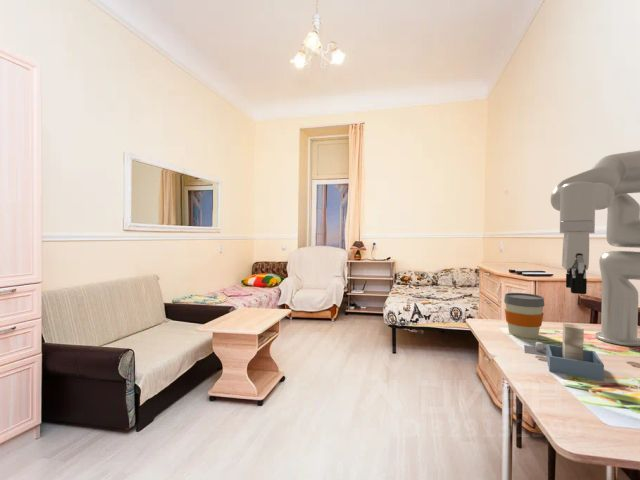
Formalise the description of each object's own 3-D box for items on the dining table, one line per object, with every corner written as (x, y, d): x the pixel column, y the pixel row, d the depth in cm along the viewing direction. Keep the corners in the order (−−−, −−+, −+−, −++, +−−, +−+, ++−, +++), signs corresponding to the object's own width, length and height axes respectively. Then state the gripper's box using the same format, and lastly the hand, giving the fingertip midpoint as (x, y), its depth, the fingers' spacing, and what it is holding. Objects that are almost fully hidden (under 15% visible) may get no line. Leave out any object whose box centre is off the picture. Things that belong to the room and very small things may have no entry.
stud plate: (524, 348, 110) (524, 337, 110) (553, 352, 106) (553, 341, 106) (524, 355, 103) (524, 344, 103) (556, 361, 99) (556, 349, 99)
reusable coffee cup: (535, 332, 126) (536, 293, 126) (550, 343, 114) (551, 300, 114) (499, 330, 129) (499, 292, 129) (509, 340, 117) (510, 298, 117)
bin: (546, 360, 99) (546, 344, 99) (594, 368, 93) (594, 351, 93) (549, 374, 89) (549, 356, 89) (603, 384, 84) (603, 365, 83)
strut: (579, 368, 92) (580, 325, 92) (582, 373, 89) (583, 329, 88) (562, 365, 94) (563, 323, 94) (564, 370, 91) (565, 326, 90)
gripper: (556, 228, 100) (555, 284, 100) (563, 228, 85) (562, 294, 85) (588, 228, 96) (587, 287, 96) (601, 227, 81) (600, 297, 82)
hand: (575, 290), depth 91 cm, fingers open, 9 cm apart
